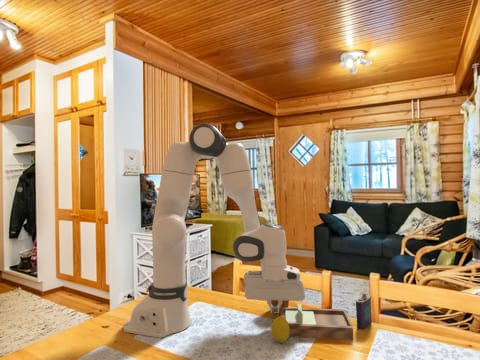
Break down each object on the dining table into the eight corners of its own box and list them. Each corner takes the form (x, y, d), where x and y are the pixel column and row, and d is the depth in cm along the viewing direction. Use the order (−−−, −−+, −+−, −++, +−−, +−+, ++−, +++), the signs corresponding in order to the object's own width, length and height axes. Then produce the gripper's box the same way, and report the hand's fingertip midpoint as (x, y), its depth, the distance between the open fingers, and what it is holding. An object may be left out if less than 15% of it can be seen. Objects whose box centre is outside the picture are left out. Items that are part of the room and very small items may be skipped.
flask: (365, 318, 106) (364, 288, 106) (374, 321, 104) (373, 290, 104) (355, 328, 99) (354, 296, 100) (364, 331, 97) (363, 298, 98)
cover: (285, 325, 97) (285, 314, 97) (285, 312, 107) (285, 301, 107) (316, 327, 96) (316, 315, 96) (313, 313, 106) (313, 302, 106)
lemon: (289, 348, 88) (288, 321, 88) (270, 347, 89) (269, 319, 89) (290, 339, 94) (289, 313, 94) (272, 337, 95) (271, 311, 95)
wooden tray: (280, 336, 95) (280, 324, 95) (280, 316, 109) (280, 306, 109) (353, 339, 92) (353, 328, 92) (344, 319, 106) (343, 309, 106)
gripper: (242, 273, 101) (243, 315, 101) (304, 274, 98) (305, 317, 98) (244, 268, 107) (245, 307, 107) (303, 269, 105) (304, 309, 104)
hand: (274, 312), depth 103 cm, fingers closed
